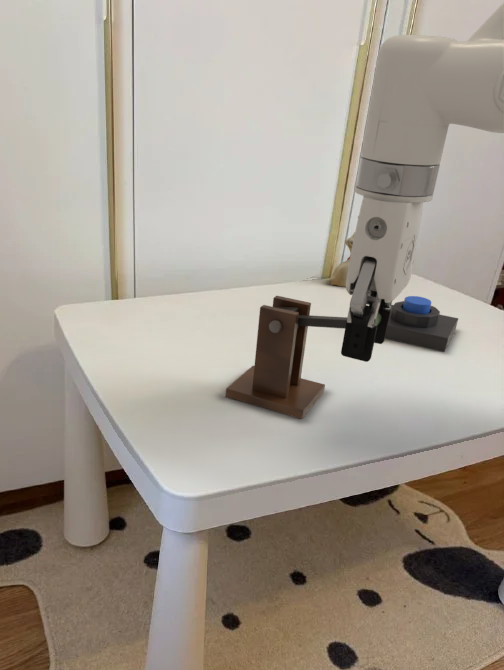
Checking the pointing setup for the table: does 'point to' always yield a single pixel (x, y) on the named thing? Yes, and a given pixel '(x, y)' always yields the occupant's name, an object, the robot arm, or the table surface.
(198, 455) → the table surface
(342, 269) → the chocolate bunny
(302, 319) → the light lever
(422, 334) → the button block
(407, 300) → the blue button
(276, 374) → the lever bracket
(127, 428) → the table surface
